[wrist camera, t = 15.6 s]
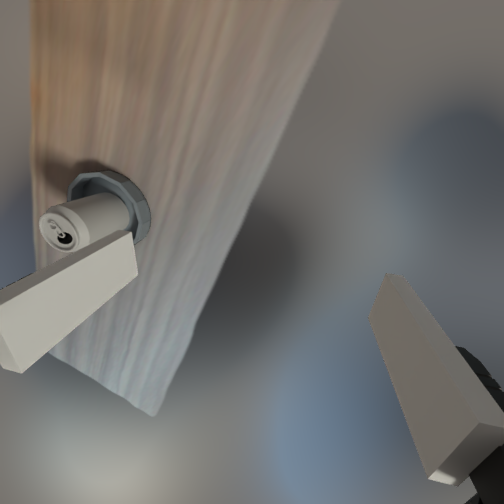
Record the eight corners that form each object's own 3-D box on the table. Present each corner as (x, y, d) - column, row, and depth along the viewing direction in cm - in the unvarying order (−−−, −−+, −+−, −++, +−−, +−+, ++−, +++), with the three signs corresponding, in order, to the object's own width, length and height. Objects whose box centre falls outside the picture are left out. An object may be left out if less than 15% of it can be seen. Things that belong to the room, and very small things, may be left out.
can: (110, 234, 48) (55, 261, 37) (88, 198, 45) (22, 217, 34) (139, 223, 45) (90, 250, 35) (118, 185, 43) (57, 201, 32)
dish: (85, 156, 42) (70, 157, 39) (158, 193, 43) (149, 197, 40) (78, 224, 49) (65, 229, 46) (142, 256, 49) (132, 263, 46)
